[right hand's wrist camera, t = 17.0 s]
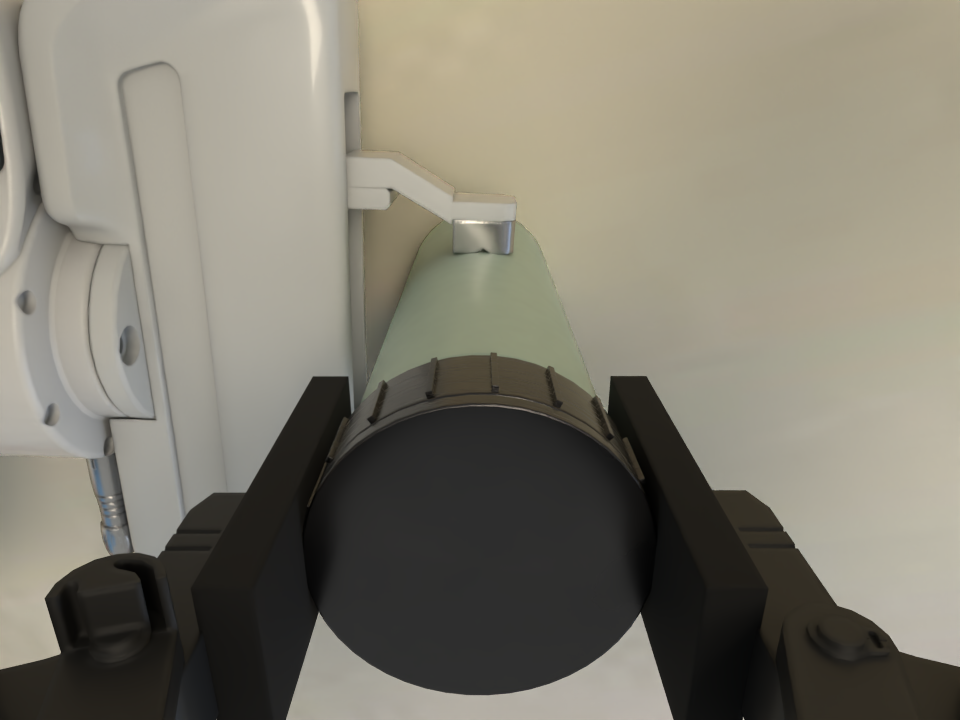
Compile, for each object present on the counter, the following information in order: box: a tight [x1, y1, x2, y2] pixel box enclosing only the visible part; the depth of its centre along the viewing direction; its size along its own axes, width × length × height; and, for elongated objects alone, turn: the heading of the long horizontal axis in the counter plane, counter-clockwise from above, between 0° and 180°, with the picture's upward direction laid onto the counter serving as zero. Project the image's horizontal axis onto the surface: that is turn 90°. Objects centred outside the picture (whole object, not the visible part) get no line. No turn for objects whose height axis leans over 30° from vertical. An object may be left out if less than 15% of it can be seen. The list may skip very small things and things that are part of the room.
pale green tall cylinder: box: [360, 220, 596, 404], centre depth 19 cm, size 5×5×17 cm
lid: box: [302, 352, 657, 695], centre depth 12 cm, size 6×6×2 cm
